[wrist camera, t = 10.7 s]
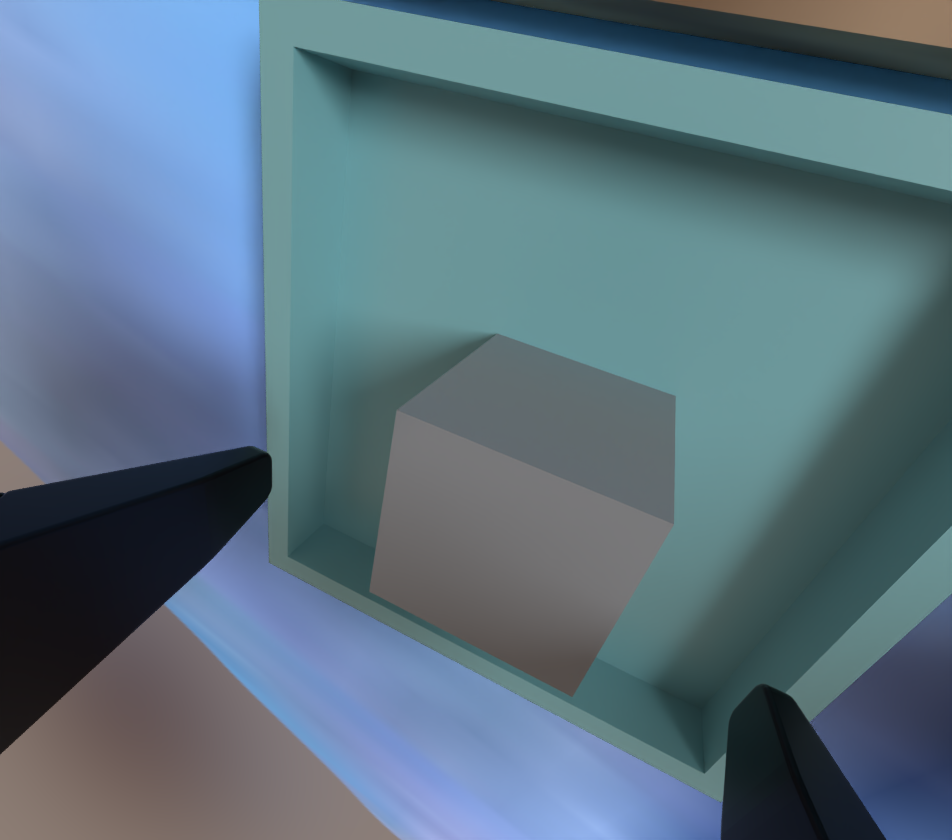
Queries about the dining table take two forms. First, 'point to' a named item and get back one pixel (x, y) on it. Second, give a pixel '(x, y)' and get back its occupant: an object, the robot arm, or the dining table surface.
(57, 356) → the dining table surface
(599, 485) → the slate block
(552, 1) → the corral
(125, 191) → the dining table surface
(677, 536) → the bin
